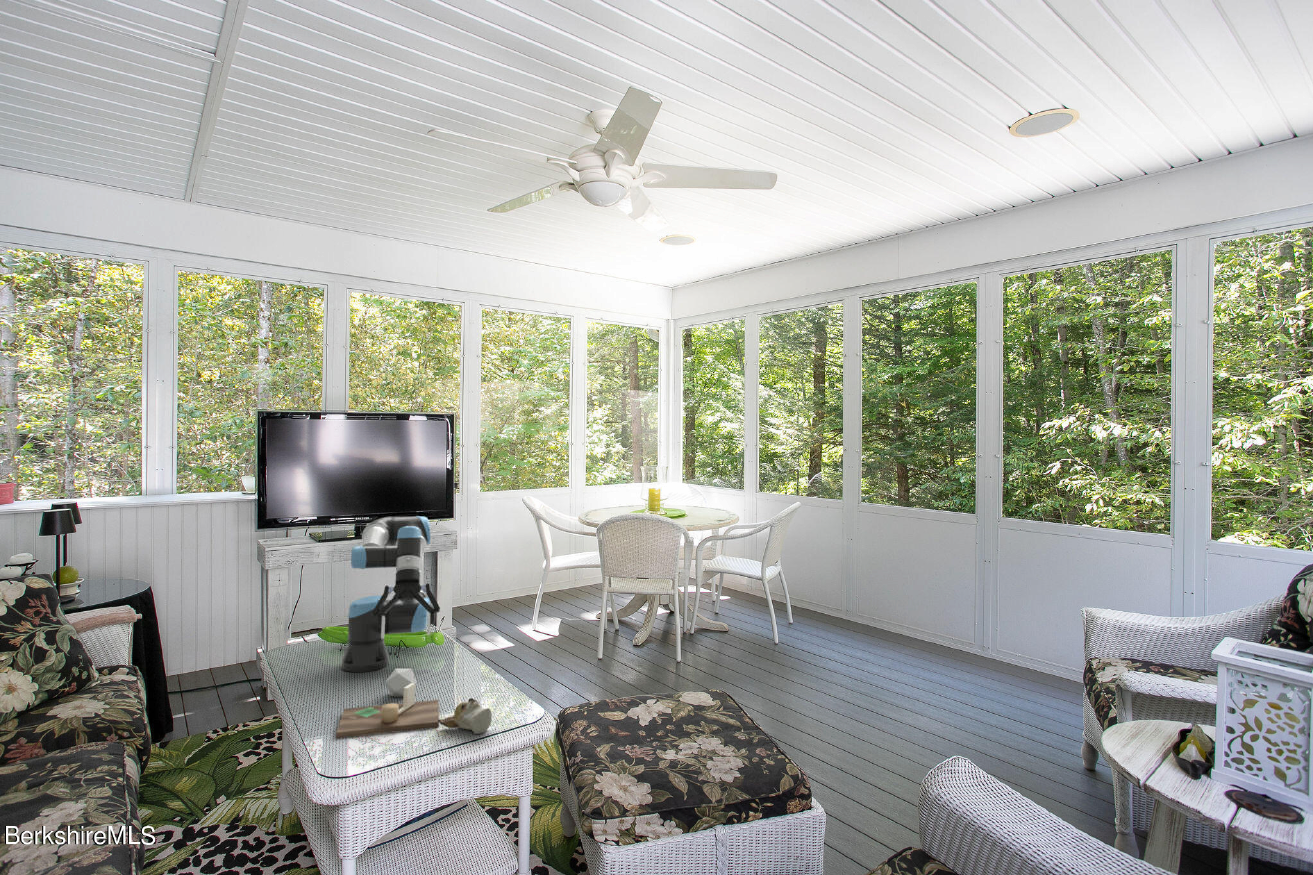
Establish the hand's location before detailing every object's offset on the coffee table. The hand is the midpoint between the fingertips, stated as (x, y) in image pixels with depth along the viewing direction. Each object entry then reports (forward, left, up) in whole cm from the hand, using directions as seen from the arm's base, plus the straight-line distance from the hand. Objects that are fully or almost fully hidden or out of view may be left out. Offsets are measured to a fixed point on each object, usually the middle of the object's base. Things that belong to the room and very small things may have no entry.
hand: (405, 636), depth 208 cm
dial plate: (+20, -3, -18) cm, 27 cm away
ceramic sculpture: (+31, +18, -18) cm, 40 cm away
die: (+1, -1, -18) cm, 18 cm away
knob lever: (+20, -1, -16) cm, 26 cm away
